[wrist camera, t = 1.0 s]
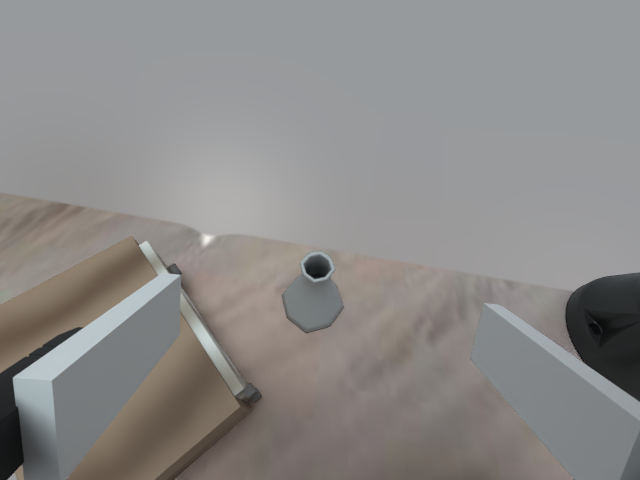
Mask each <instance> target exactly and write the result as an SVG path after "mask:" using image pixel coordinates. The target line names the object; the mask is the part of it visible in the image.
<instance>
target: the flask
mask: <svg viewBox="0 0 640 480" xmlns="http://www.w3.org/2000/svg"><path fill="white" fill-rule="evenodd" d="M300 266H301V270H302V274H301V275H300V276H299V277H297V278H296V279H295V280H294V282H293V283H292V284H291V285H290V286H289V287H288V288H287V290H286V291H285V292H284V293H283V294H282V299H283V303H284V307H285V311H286V315H287V318H288V319H289V320H291V321H292V322H293V323H295V324H296V325H297V326H298V327H300V328H301V329H302V330H303V331H305V332H306V333H308V332H311V331H315V330H318V329H322V328H326V327H329V326H331V324H332V323H333V322H334V320H335V319H336V318H337V316H338V315H339V314H340V312H341V311H342V309H343V308H344V306H343V303H342V300H341V297H340V294H339V291H338V288H337V286H336V284H335V283H334V282H333V281H332V280H331V278H330V276H331V275H332V274H333V273H334V271H335V267H334V264H333V261H332V259H331V257H329V256H328V255H326V254H325V253H323V252H322V251H317V252H312V253H308V254H307V255H306V256H305V258H304V259H303V260H302V261H301V262H300Z"/></svg>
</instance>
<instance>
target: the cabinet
mask: <svg viewBox="0 0 640 480" xmlns="http://www.w3.org/2000/svg"><path fill="white" fill-rule="evenodd" d="M161 273H167V274H178V275H181V274H182V273H181V272H180V270H179V269H178V267H177V266H176V264H175V263H174V264H173V265H171V266H169V267H168V266H167V265H166V264H165V262H164V261H163V260H162V259H161V257H160V256H159V255H158V254H157V252H156V251H155V250H154V249H153V247H152V246H151V245H150V244H149V243H148V241H146V242H144V243H142V244H140V245H139V244H138V242H137V241H136V240H135V239H134V238H133V237H132V236H130V237H129V238H127V239H125V240H123V241H121V242H119V243H117V244H115V245H113V246H112V247H110V248H108V249H106V250H104V251H102V252H100V253H98V254H96V255H94V256H93V257H91V258H89V259H87V260H85V261H83V262H81V263H79V264H77V265H76V266H74V267H72V268H70V269H68V270H66V271H64V272H62V273H60V274H58V275H57V276H55V277H53V278H51V279H49V280H47V281H45V282H43V283H41V284H40V285H38V286H36V287H34V288H32V289H30V290H28V291H26V292H24V293H22V294H21V295H19V296H17V297H15V298H13V299H11V300H9V301H7V302H5V303H4V304H2V305H0V373H1V372H3V371H4V370H6V369H7V368H9V367H10V366H12V365H13V364H15V363H16V362H18V361H19V360H21V359H22V358H24V357H25V356H27V357H28V356H29V354H30V353H31V352H33V351H35V350H36V349H38V348H39V347H40V348H41V347H42V345H44V344H45V343H47V342H48V341H50V340H51V339H53V338H54V337H56V336H57V335H59V334H62V333H64V332H67V331H69V330H72V329H74V328H77V327H83V328H84V327H86V326H87V325H89V324H90V323H91V322H93V321H94V320H96V319H97V318H99V317H100V316H101V315H103V314H104V313H106V312H107V311H109V310H110V309H111V308H113V307H114V306H116V305H117V304H119V303H120V302H121V301H123V300H124V299H126V298H127V297H129V296H130V295H131V294H133V293H134V292H136V291H137V290H139V289H140V288H141V287H143V286H144V285H146V284H147V283H149V282H150V281H151V280H153V279H154V278H156V277H157V276H159V275H160V274H161ZM261 397H262V396H261V394H260V393H259V391H258V390H257V389H256V388H254V387H253V385H252V384H251V383H250V384H249V385H248V386H247V384H246V383H245V381H244V380H243V378H242V377H241V375H240V374H239V372H238V371H237V369H236V368H235V366H234V365H233V363H232V362H231V360H230V359H229V357H228V356H227V354H226V353H225V351H224V350H223V348H222V347H221V345H220V344H219V342H218V341H217V339H216V338H215V336H214V335H213V333H212V332H211V330H210V329H209V327H208V326H207V324H206V323H205V321H204V320H203V318H202V317H201V315H200V314H199V312H198V310H197V309H196V307H195V306H194V304H193V303H192V301H191V300H190V298H189V297H188V295H187V294H186V292H185V291H184V289H183V288H182V286H181V297H180V335H179V336H178V338H177V339H176V340H175V342H174V343H173V344H172V345H171V347H170V348H169V349H168V350H167V352H166V353H165V354H164V356H163V357H162V358H161V359H160V361H159V362H158V363H157V365H156V366H155V367H154V368H153V370H152V371H151V372H150V374H149V375H148V376H147V377H146V379H145V380H144V381H143V382H142V384H141V385H140V386H139V388H138V389H137V390H136V391H135V393H134V394H133V395H132V397H131V398H130V399H129V400H128V402H127V403H126V404H125V405H124V407H123V408H122V409H121V411H120V412H119V413H118V414H117V416H116V417H115V418H114V420H113V421H112V422H111V423H110V425H109V426H108V427H107V429H106V430H105V431H104V432H103V434H102V435H101V436H100V437H99V439H98V440H97V441H96V443H95V444H94V445H93V446H92V448H91V449H90V450H89V452H88V453H87V454H86V455H85V457H84V458H83V459H82V460H81V462H80V463H79V464H78V466H77V467H76V468H75V469H74V471H73V472H72V473H71V475H70V476H69V477H68V478H67V480H173V479H174V478H176V477H177V476H178V475H179V474H180V473H181V472H182V471H184V470H185V469H186V468H187V467H188V466H189V465H191V464H192V463H193V462H194V461H195V460H196V459H197V458H199V457H200V456H201V455H202V454H203V453H204V452H205V451H207V450H208V449H209V448H210V447H211V446H212V445H213V444H215V443H216V442H217V441H218V440H219V439H220V438H222V437H223V436H224V435H225V434H226V433H227V432H228V431H230V430H231V429H232V428H233V427H234V426H235V425H236V424H238V423H239V422H240V421H241V420H242V419H243V418H244V417H246V416H247V415H248V414H249V413H250V412H251V411H252V409H251V407H250V406H249V404H248V403H247V400H249V399H251V398H252V400H253V401H254V402H256V401H257V400H258V399H260V398H261ZM15 475H16V477H17V480H24V475H23V466H22V465H21V466H20V467H19V468H18V469H17V470H16V471H15Z"/></svg>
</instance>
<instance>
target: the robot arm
mask: <svg viewBox="0 0 640 480" xmlns="http://www.w3.org/2000/svg"><path fill="white" fill-rule="evenodd" d="M180 297H181V275H178V274H167V273H161V274H160V275H159V276H157V277H156V278H154V279H153V280H151V281H150V282H149V283H147V284H146V285H144V286H143V287H141V288H140V289H139V290H137V291H136V292H134V293H133V294H131V295H130V296H129V297H127V298H126V299H124V300H123V301H121V302H120V303H119V304H117V305H116V306H114V307H113V308H111V309H110V310H109V311H107V312H106V313H104V314H103V315H101V316H100V317H99V318H97V319H96V320H94V321H93V322H91V323H90V324H89V325H87V326H86V327H84V328H83V327H77V328H74V329H72V330H69V331H67V332H64V333H62V334H59V335H57V336H56V337H54V338H53V339H51V340H50V341H48V342H47V343H45V344H44V345H42V347H41V348H40V347H39V348H38V349H36V350H35V351H33V352H31V353H30V354H29V356H28V357H27V356H25V357H24V358H22V359H21V360H19V361H18V362H16V363H15V364H13V365H12V366H10V367H9V368H7V369H6V370H4V371H3V372H1V373H0V480H7V479H8V478H9V477H10V476H11V475H12V474H13V473H14V472H15V471H16V470H17V469H18V468H19V467H20V466H21V465H22V466H23V475H24V480H67V478H68V477H69V476H70V475H71V473H72V472H73V471H74V469H75V468H76V467H77V466H78V464H79V463H80V462H81V460H82V459H83V458H84V457H85V455H86V454H87V453H88V452H89V450H90V449H91V448H92V446H93V445H94V444H95V443H96V441H97V440H98V439H99V437H100V436H101V435H102V434H103V432H104V431H105V430H106V429H107V427H108V426H109V425H110V423H111V422H112V421H113V420H114V418H115V417H116V416H117V414H118V413H119V412H120V411H121V409H122V408H123V407H124V405H125V404H126V403H127V402H128V400H129V399H130V398H131V397H132V395H133V394H134V393H135V391H136V390H137V389H138V388H139V386H140V385H141V384H142V382H143V381H144V380H145V379H146V377H147V376H148V375H149V374H150V372H151V371H152V370H153V368H154V367H155V366H156V365H157V363H158V362H159V361H160V359H161V358H162V357H163V356H164V354H165V353H166V352H167V350H168V349H169V348H170V347H171V345H172V344H173V343H174V342H175V340H176V339H177V338H178V336H179V335H180ZM566 316H567V325H568V329H569V333H570V336H571V338H572V341H573V343H574V345H575V347H576V349H577V351H578V352H579V354H580V355H581V357H582V358H583V360H584V361H585V363H586V364H587V365H588V366H587V365H586V364H584V363H583V362H582V361H580V360H579V359H577V358H576V357H574V356H573V355H572V354H570V353H569V352H567V351H566V350H564V349H563V348H561V347H560V346H559V345H557V344H556V343H554V342H553V341H551V340H550V339H549V338H547V337H546V336H544V335H543V334H541V333H540V332H539V331H537V330H536V329H534V328H533V327H531V326H530V325H528V324H527V323H526V322H524V321H523V320H521V319H520V318H518V317H517V316H516V315H514V314H513V313H511V312H510V311H508V310H507V309H506V308H504V307H503V306H501V305H496V304H485V303H484V305H483V309H482V313H481V317H480V321H479V325H478V329H477V333H476V338H475V342H474V346H473V350H472V354H471V358H470V359H471V360H472V361H473V363H474V364H475V365H476V366H477V367H478V368H479V369H480V371H481V372H482V373H483V374H484V375H485V376H486V378H487V379H488V380H489V381H490V382H491V383H492V385H493V386H494V387H495V388H496V389H497V390H498V391H499V393H500V394H501V395H502V396H503V397H504V398H505V400H506V401H507V402H508V403H509V404H510V405H511V407H512V408H513V409H514V410H515V411H516V412H517V413H518V415H519V416H520V417H521V418H522V419H523V420H524V422H525V423H526V424H527V425H528V426H529V427H530V429H531V430H532V431H533V432H534V433H535V434H536V435H537V437H538V438H539V439H540V440H541V441H542V442H543V444H544V445H545V446H546V447H547V448H548V449H549V451H550V452H551V453H552V454H553V455H554V456H555V457H556V459H557V460H558V461H559V462H560V463H561V464H562V466H563V467H564V468H565V469H566V470H567V471H568V473H569V474H570V475H571V476H572V477H573V478H574V479H575V480H640V273H632V274H623V275H615V276H607V277H603V278H599V279H596V280H594V281H592V282H589V283H587V284H585V285H583V286H581V287H580V288H578V289H577V290H576V291H575V292H574V293H573V294H572V296H571V297H570V299H569V302H568V305H567V313H566Z"/></svg>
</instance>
